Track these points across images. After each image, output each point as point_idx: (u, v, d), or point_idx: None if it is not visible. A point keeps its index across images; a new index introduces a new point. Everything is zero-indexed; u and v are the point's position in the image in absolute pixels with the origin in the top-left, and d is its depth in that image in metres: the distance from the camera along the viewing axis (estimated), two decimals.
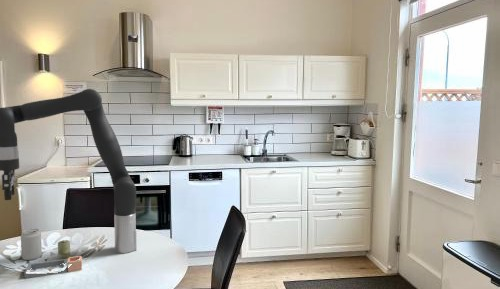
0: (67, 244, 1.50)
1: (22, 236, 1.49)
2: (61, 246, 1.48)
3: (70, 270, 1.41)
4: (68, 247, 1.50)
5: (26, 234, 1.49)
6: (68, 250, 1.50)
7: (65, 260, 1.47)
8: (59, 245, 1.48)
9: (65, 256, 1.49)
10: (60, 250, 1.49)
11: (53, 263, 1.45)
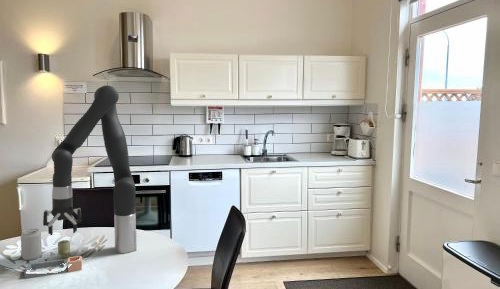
0: (67, 244, 1.50)
1: (22, 236, 1.49)
2: (61, 246, 1.48)
3: (70, 270, 1.41)
4: (68, 247, 1.50)
5: (26, 234, 1.49)
6: (68, 250, 1.50)
7: (65, 260, 1.47)
8: (59, 245, 1.48)
9: (65, 256, 1.49)
10: (60, 250, 1.49)
11: (53, 263, 1.45)
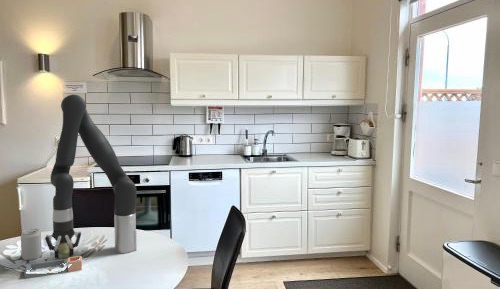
0: (67, 244, 1.50)
1: (22, 236, 1.49)
2: (61, 246, 1.48)
3: (70, 270, 1.41)
4: (68, 247, 1.50)
5: (26, 234, 1.49)
6: (68, 250, 1.50)
7: (65, 260, 1.47)
8: (59, 245, 1.48)
9: (65, 256, 1.49)
10: (60, 250, 1.49)
11: (53, 263, 1.45)
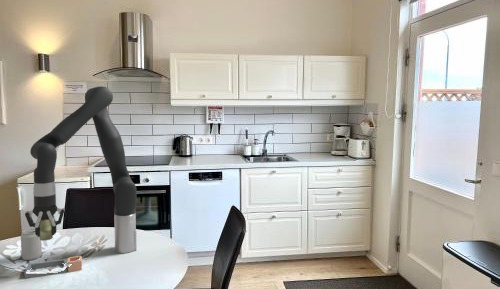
0: (49, 221, 1.39)
1: (22, 236, 1.49)
2: (42, 223, 1.38)
3: (70, 270, 1.41)
4: (50, 224, 1.40)
5: (26, 234, 1.49)
6: (50, 227, 1.40)
7: (65, 260, 1.47)
8: (40, 222, 1.38)
9: (47, 234, 1.39)
10: (41, 227, 1.38)
11: (53, 263, 1.45)
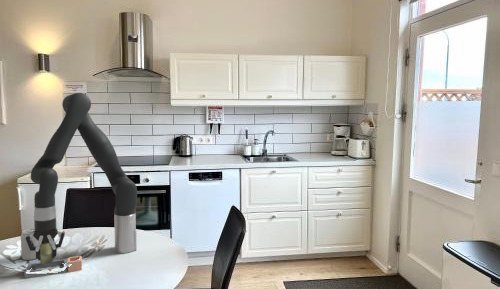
0: (49, 244, 1.40)
1: (22, 236, 1.49)
2: (43, 246, 1.39)
3: (70, 270, 1.41)
4: (51, 248, 1.41)
5: (26, 234, 1.49)
6: (51, 251, 1.41)
7: (65, 260, 1.47)
8: (41, 245, 1.39)
9: (47, 258, 1.40)
10: (42, 251, 1.39)
11: (53, 263, 1.45)
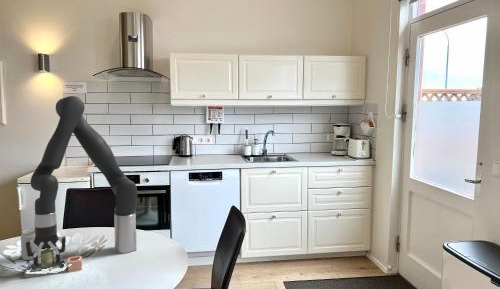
0: (50, 253, 1.40)
1: (22, 236, 1.49)
2: (44, 255, 1.39)
3: (70, 270, 1.41)
4: (52, 256, 1.41)
5: (26, 234, 1.49)
6: (52, 259, 1.41)
7: (65, 260, 1.47)
8: (42, 254, 1.39)
9: (48, 266, 1.40)
10: (43, 260, 1.39)
11: None
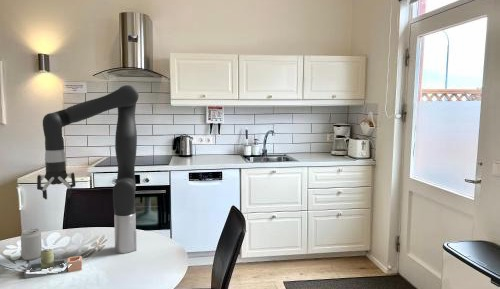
0: (50, 253, 1.40)
1: (22, 236, 1.49)
2: (44, 255, 1.39)
3: (70, 270, 1.41)
4: (52, 256, 1.41)
5: (26, 234, 1.49)
6: (52, 259, 1.41)
7: (65, 260, 1.47)
8: (42, 254, 1.39)
9: (48, 266, 1.40)
10: (43, 260, 1.39)
11: None
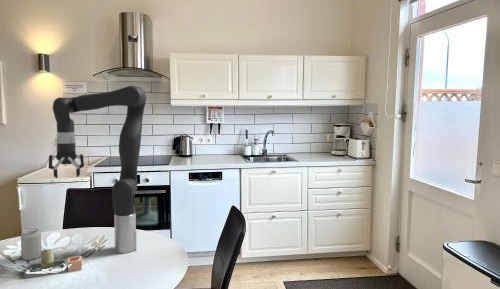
0: (50, 253, 1.40)
1: (22, 236, 1.49)
2: (44, 255, 1.39)
3: (70, 270, 1.41)
4: (52, 256, 1.41)
5: (26, 234, 1.49)
6: (52, 259, 1.41)
7: (65, 260, 1.47)
8: (42, 254, 1.39)
9: (48, 266, 1.40)
10: (43, 260, 1.39)
11: None
